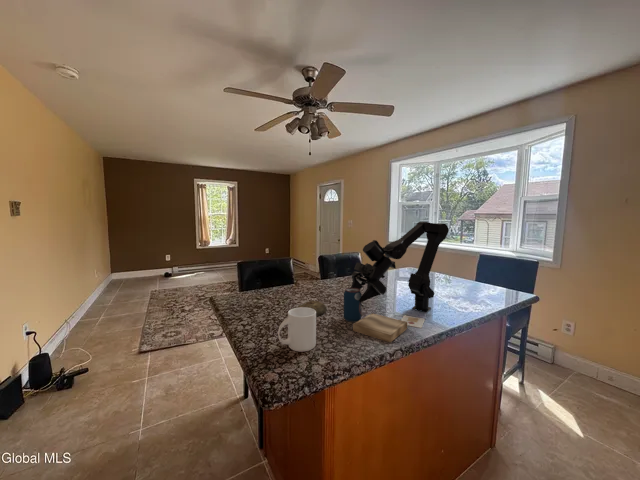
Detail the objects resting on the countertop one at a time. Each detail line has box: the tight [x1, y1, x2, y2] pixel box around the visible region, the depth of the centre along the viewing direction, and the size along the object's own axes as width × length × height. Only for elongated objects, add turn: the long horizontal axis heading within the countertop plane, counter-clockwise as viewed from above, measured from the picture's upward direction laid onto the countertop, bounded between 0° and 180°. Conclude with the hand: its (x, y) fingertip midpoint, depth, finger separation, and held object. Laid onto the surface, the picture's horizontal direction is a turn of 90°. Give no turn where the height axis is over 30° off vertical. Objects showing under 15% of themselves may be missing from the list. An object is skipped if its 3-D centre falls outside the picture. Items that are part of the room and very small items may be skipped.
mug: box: [277, 307, 317, 353], centre depth 79 cm, size 9×12×11 cm
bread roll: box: [296, 300, 328, 318], centre depth 111 cm, size 13×12×5 cm
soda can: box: [343, 287, 363, 323], centre depth 102 cm, size 7×7×12 cm
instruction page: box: [400, 315, 426, 329], centre depth 100 cm, size 10×8×1 cm
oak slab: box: [352, 313, 408, 343], centre depth 92 cm, size 14×14×3 cm
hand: (354, 298), depth 102 cm, fingers open, 9 cm apart
